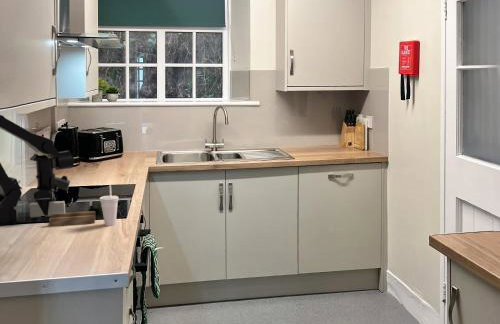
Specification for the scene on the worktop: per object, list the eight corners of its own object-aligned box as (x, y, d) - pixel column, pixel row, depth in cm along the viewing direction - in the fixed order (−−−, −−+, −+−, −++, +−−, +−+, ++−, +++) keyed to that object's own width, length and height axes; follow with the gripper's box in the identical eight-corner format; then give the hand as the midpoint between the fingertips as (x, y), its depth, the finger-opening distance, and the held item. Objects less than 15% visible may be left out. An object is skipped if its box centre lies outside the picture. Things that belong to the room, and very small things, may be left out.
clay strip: (30, 217, 198) (29, 204, 197) (31, 215, 201) (30, 202, 200) (64, 215, 201) (63, 202, 200) (65, 213, 204) (64, 200, 203)
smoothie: (120, 226, 185) (118, 186, 183) (100, 227, 183) (98, 187, 181) (119, 221, 191) (117, 182, 189) (100, 222, 189) (98, 184, 187)
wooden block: (49, 226, 186) (49, 218, 185) (52, 220, 193) (51, 213, 192) (94, 223, 189) (94, 216, 189) (95, 218, 196) (95, 211, 196)
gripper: (65, 174, 191) (68, 217, 194) (70, 166, 209) (72, 205, 212) (32, 176, 189) (35, 219, 191) (39, 168, 207) (42, 207, 209)
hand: (47, 212), depth 201 cm, fingers open, 9 cm apart
